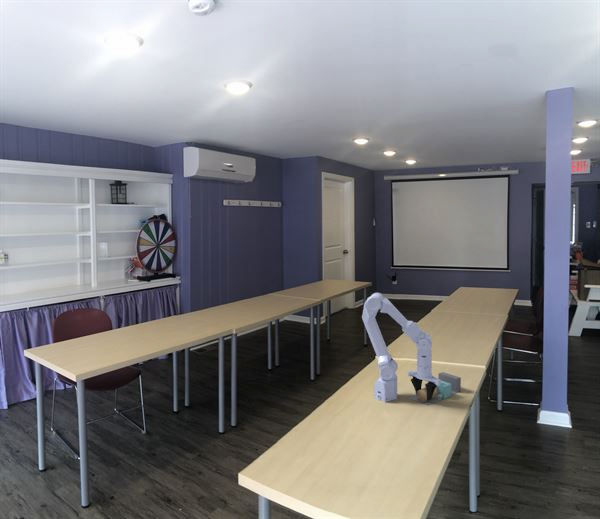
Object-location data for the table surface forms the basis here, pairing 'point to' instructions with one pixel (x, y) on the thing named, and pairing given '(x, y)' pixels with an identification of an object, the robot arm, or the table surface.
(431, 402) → the board
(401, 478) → the table surface
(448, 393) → the teal arch
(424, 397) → the dowel
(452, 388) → the backstop wall
